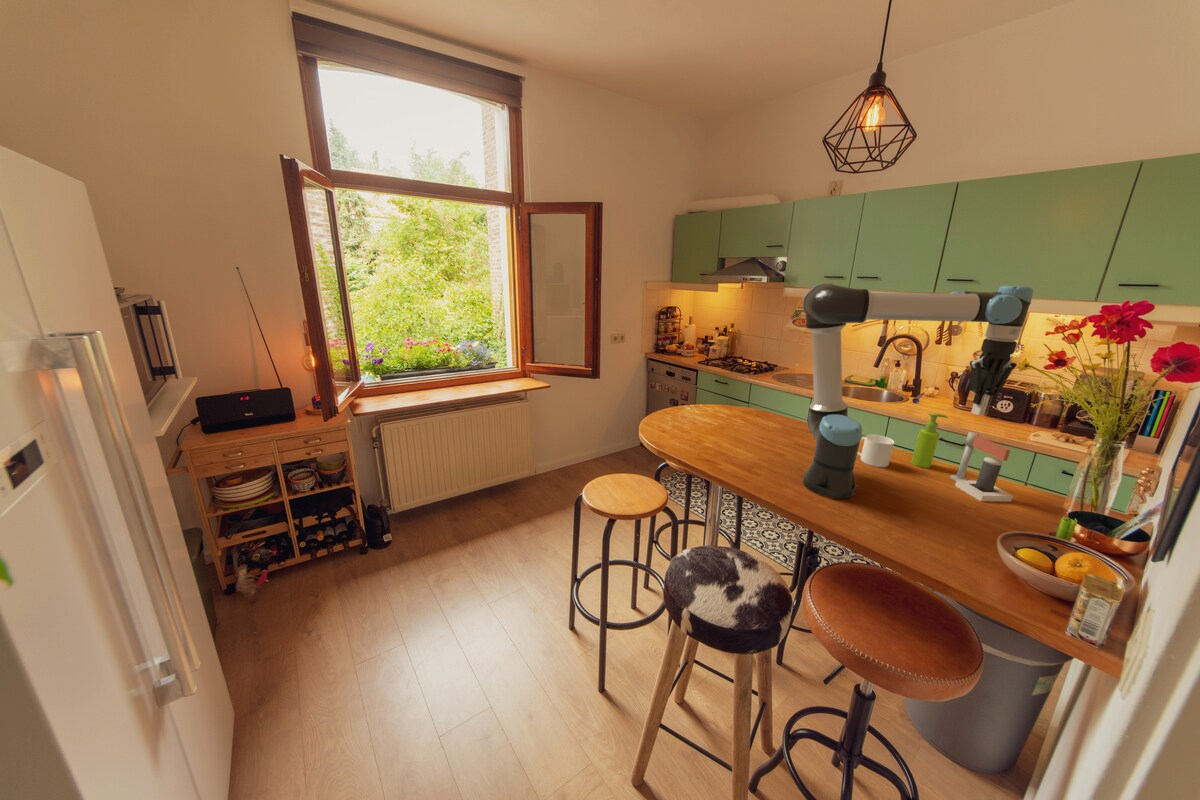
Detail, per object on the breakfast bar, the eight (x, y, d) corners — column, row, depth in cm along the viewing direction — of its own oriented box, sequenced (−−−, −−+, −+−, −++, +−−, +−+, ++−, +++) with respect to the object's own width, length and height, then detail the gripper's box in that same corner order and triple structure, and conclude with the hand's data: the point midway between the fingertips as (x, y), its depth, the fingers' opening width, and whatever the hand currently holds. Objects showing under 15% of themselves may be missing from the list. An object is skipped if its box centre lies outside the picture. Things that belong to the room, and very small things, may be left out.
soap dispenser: (936, 469, 157) (951, 417, 151) (915, 467, 158) (929, 415, 152) (928, 462, 162) (942, 412, 156) (908, 460, 163) (921, 410, 157)
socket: (980, 501, 135) (993, 463, 131) (941, 477, 150) (951, 443, 146) (1011, 501, 136) (1024, 464, 132) (968, 477, 151) (979, 443, 147)
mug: (893, 464, 159) (899, 441, 157) (880, 469, 155) (886, 445, 152) (860, 452, 169) (865, 430, 166) (847, 457, 165) (852, 434, 162)
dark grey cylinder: (981, 496, 138) (992, 463, 134) (969, 490, 142) (980, 457, 138) (994, 496, 138) (1006, 463, 134) (982, 490, 142) (993, 457, 139)
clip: (1000, 460, 133) (1004, 448, 131) (962, 442, 146) (966, 432, 145) (1009, 460, 133) (1013, 449, 132) (970, 443, 146) (974, 432, 145)
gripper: (990, 341, 124) (967, 417, 131) (1034, 342, 124) (1008, 418, 131) (968, 336, 131) (947, 409, 138) (1010, 337, 131) (986, 410, 139)
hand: (977, 413), depth 135 cm, fingers closed
